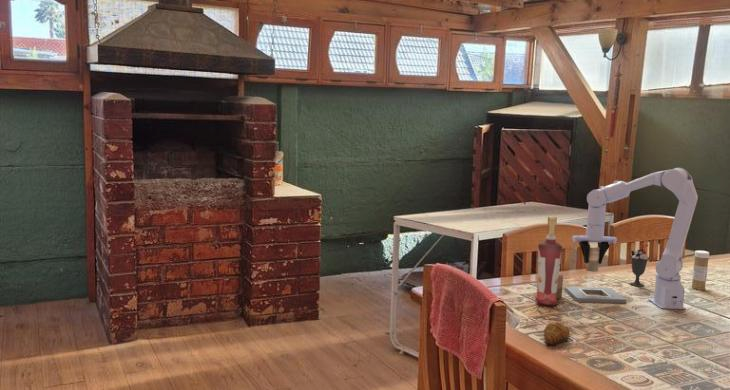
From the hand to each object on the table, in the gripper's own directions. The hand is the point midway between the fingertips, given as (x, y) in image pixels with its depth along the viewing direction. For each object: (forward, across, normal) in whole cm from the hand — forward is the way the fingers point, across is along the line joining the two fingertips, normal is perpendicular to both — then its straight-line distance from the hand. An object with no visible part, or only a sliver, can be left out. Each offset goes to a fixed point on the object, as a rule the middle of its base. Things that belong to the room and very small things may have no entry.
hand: (592, 262), depth 221 cm
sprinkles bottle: (+10, -40, -6) cm, 42 cm away
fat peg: (+9, +16, +9) cm, 21 cm away
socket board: (+9, +2, +9) cm, 13 cm away
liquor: (+10, +20, +19) cm, 29 cm away
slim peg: (+3, 0, 0) cm, 3 cm away
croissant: (+10, +26, +50) cm, 57 cm away
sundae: (+10, -19, -8) cm, 23 cm away
